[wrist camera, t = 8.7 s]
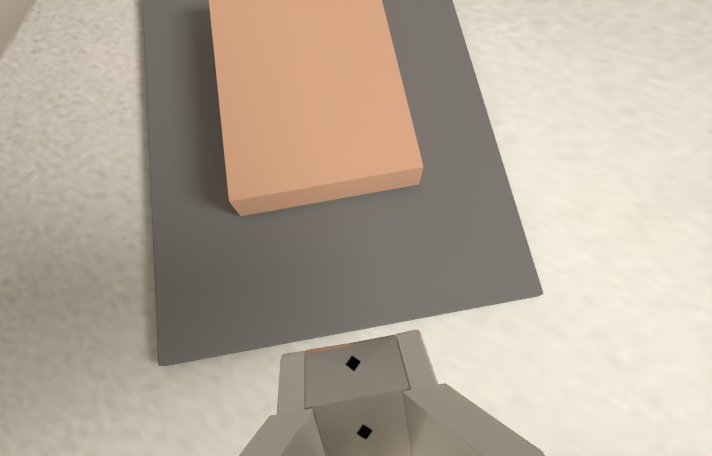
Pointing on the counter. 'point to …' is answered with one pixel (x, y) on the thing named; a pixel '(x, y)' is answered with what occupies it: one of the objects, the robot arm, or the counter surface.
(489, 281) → the mat
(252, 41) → the tile
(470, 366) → the counter surface
